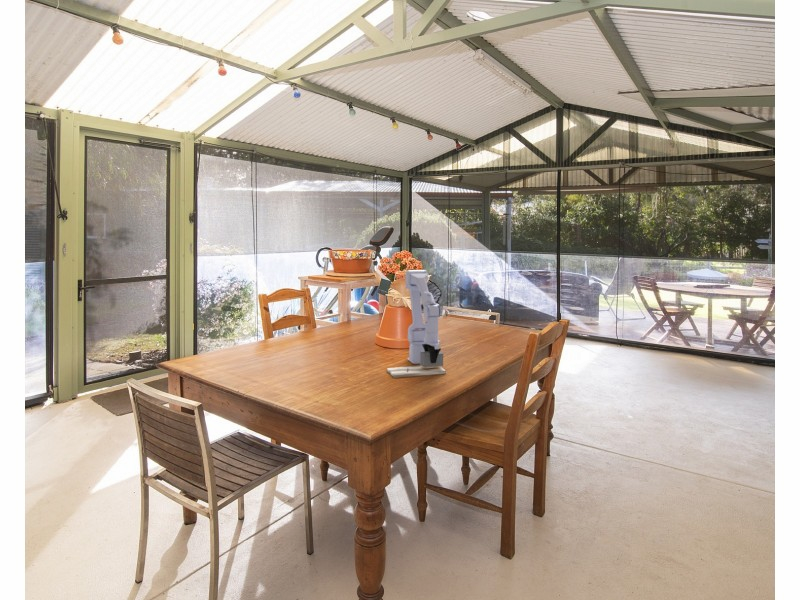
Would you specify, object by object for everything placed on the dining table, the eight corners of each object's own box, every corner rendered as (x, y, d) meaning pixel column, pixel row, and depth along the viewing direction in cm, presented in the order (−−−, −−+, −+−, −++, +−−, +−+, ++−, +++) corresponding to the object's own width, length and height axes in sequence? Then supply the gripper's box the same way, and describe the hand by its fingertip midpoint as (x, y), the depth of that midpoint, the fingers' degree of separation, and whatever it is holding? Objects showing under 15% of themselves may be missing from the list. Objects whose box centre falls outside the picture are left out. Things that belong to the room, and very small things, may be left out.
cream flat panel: (386, 370, 220) (386, 368, 220) (436, 366, 227) (436, 364, 227) (393, 377, 210) (393, 375, 210) (446, 373, 217) (446, 370, 217)
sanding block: (420, 365, 221) (420, 352, 221) (438, 363, 224) (439, 350, 223) (424, 368, 217) (424, 354, 216) (443, 366, 219) (443, 353, 219)
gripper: (446, 334, 212) (445, 364, 214) (434, 327, 226) (433, 356, 228) (431, 335, 210) (430, 366, 212) (419, 328, 224) (419, 357, 226)
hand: (431, 361), depth 220 cm, fingers closed on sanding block, 5 cm apart
